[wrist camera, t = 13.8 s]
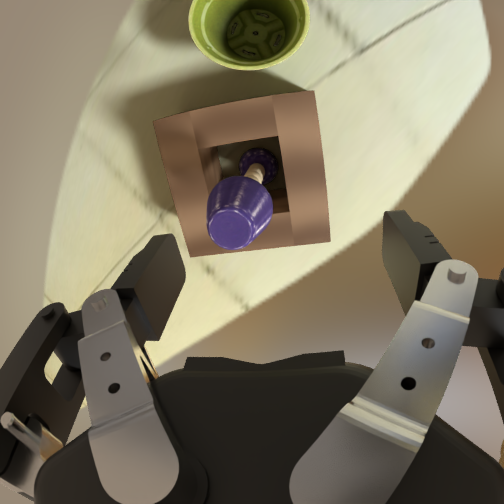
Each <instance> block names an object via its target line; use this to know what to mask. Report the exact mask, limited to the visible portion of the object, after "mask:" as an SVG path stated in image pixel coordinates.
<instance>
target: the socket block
mask: <svg viewBox="0 0 504 504" xmlns="http://www.w3.org/2000/svg"><path fill="white" fill-rule="evenodd" d="M153 124H154V128H155V132H156V136H157V140H158V144H159V148H160V152H161V156H162V160H163V164H164V168H165V171H166V175H167V179H168V183H169V186H170V190H171V193H172V197H173V201H174V204H175V208H176V211H177V215H178V218H179V221H180V225H181V228H182V232H183V235H184V238H185V242H186V245H187V248H188V251H189V255H190V257H197V256H206V255H215V254H224V253H233V252H242V251H251V250H260V249H269V248H279V247H288V246H297V245H306V244H315V243H324V242H331V239H330V225H329V212H328V200H327V189H326V179H325V169H324V160H323V151H322V143H321V135H320V128H319V120H318V113H317V107H316V100H315V94H314V91H300V92H291V93H283V94H276V95H269V96H262V97H256V98H250V99H244V100H238V101H233V102H228V103H223V104H218V105H213V106H209V107H204V108H200V109H195V110H191V111H187V112H183V113H179V114H175V115H172V116H168V117H165V118H162V119H158V120H155V121H153ZM273 136H278V137H279V143H280V149H281V155H282V162H283V168H284V175H285V181H286V188H284V189H276V190H269V191H268V193H269V194H270V196H271V199H272V203H273V213H272V218H271V220H270V223H269V224H268V226H267V227H266V229H265V230H264V231H263V232H262V233H261V234H260V235H259V236H258V237H257V238H256V239H254V240H253V241H252V242H251V243H250V244H249V245H247V246H246V247H244V248H241V249H238V250H227V249H224V248H222V247H220V246H218V245H217V244H215V243H214V242H213V241H212V239H211V238H210V236H209V234H208V231H207V226H206V213H207V201H208V197H209V195H210V193H211V191H212V189H213V188H214V187H215V186H216V185H217V184H218V183H219V182H221V181H222V180H224V178H223V174H222V169H221V165H220V160H219V155H218V151H217V146H218V145H224V144H229V143H235V142H241V141H247V140H253V139H260V138H266V137H273Z"/></svg>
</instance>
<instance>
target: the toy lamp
mask: <svg viewBox="0 0 504 504" xmlns="http://www.w3.org/2000/svg"><path fill="white" fill-rule="evenodd" d="M239 171H240V174H241V176H231V177H228V178H226V179H224V180H222V181H221V182H219V183H218V184H217V185H216V186H215V187H214V188H213V189H212V191H211V193H210V195H209V197H208V201H207V213H206V226H207V231H208V234H209V236H210V238H211V239H212V241H213V242H214V243H215V244H217V245H218V246H220V247H222V248H224V249H227V250H238V249H241V248H244V247H246V246H247V245H249V244H250V243H251V242H252V241H253V240H254V239H256V238H257V237H258V236H259V235H260V234H261V233H262V232H263V231H264V230H265V229H266V227H267V226H268V224H269V223H270V220H271V218H272V213H273V203H272V199H271V196H270V194H269V193H268V191H267V189H266V188H265V187H264V186H263V185H265V184H268V183H269V182H271V181H272V180H273V179H274V177H275V176H276V174H277V171H278V163H277V161H276V158H275V156H274V155H273V154H272V153H271V152H270V151H268V150H266V149H262V148H253V149H250V150H248V151H247V152H245V153H244V154H243V156H242V157H241V159H240V162H239Z"/></svg>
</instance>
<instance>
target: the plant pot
mask: <svg viewBox="0 0 504 504" xmlns="http://www.w3.org/2000/svg"><path fill="white" fill-rule="evenodd" d="M257 13H263V14H267V15H268V16H269V18H266V17H264V16H260V15H256V14H257ZM188 23H189V31H190V34H191V37H192V39H193V41H194V43H195V44H196V46H197V47H198V49H199V50H200V51H201V52H202V53H203V54H204V55H205V56H206V57H208V58H209V59H210V60H212V61H214V62H215V63H217V64H220V65H222V66H225V67H228V68H232V69H237V70H259V69H264V68H268V67H271V66H274V65H276V64H279V63H281V62H283V61H284V60H286V59H287V58H289V57H290V56H291V55H293V54H294V53H295V52H296V51H297V50H298V49H299V47H300V46H301V44H302V43H303V41H304V40H305V38H306V35H307V32H308V29H309V24H310V12H309V7H308V3H307V1H306V0H193V1H192V4H191V7H190V10H189V16H188ZM235 23H238V25H237V26H236V28H235V31H234V34H232V27H233V25H234V24H235ZM254 31H257V32H258V34H257V35H253V32H254ZM278 35H280V36H281V39H280V41H279V43H278V45H277V46H274V44H275V42H276V40H277V36H278ZM243 50H245V51H248V52H251V53H255V55H253V56H252V55H249V54H244V53H243V52H242V51H243Z"/></svg>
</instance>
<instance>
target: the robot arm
mask: <svg viewBox="0 0 504 504" xmlns="http://www.w3.org/2000/svg"><path fill="white" fill-rule="evenodd" d="M382 243H383V244H382V256H383V262H384V266H385V268H386V270H387V272H388V274H389V277H390V279H391V282H392V284H393V286H394V289H395V291H396V293H397V296H398V298H399V301H400V303H401V306H402V308H403V311H404V313H405V316H406V318H405V319H404V321H403V323H402V324H401V326H400V328H399V330H398V331H397V333H396V335H395V337H394V338H393V340H392V342H391V343H390V346H389V347H388V348H387V350H386V352H385V353H384V355H383V356H382V358H381V360H380V361H379V363H378V364H377V366H376V368H375V369H372V368H370V367H366V366H364V365H360V364H355V363H349V362H345V357H344V351H332V352H321V353H309V354H302V355H298V356H294V357H290V358H287V359H283V360H279V361H275V362H271V363H266V364H255V363H249V362H244V361H239V360H234V359H229V358H224V357H187V359H186V363H185V366H184V368H183V369H178V370H175V371H172V372H169V373H167V374H164V375H162V376H160V377H159V375H158V373H157V371H156V369H155V367H154V365H153V362H152V360H151V358H150V356H149V353H148V351H147V349H146V347H145V346H144V344H145V342H146V341H159V340H160V337H161V335H162V333H163V330H164V328H165V326H166V323H167V321H168V319H169V317H170V314H171V312H172V310H173V307H174V305H175V303H176V301H177V298H178V296H179V294H180V292H181V289H182V287H183V285H184V283H185V278H186V272H185V267H184V264H183V261H182V258H181V255H180V251H179V248H178V245H177V242H176V239H175V237H174V235H173V234H163V235H156V236H153V237H152V238H151V239H150V241H149V242H148V243H147V245H146V246H145V248H144V249H143V250H141V251H140V252H139V253H137V254H136V255H135V256H134V257H133V258H132V260H131V261H130V262H129V264H128V265H127V266H126V268H125V269H124V272H122V273H121V275H120V276H119V277H118V279H117V280H116V282H115V283H114V284H113V286H112V287H111V289H104V290H100V291H98V292H96V293H94V294H92V295H91V296H90V297H88V298H87V299H86V300H85V302H84V303H83V305H82V309H81V310H79V311H75V312H71V313H68V311H67V310H66V308H65V306H64V305H63V304H62V303H60V302H57V303H52V304H50V305H48V306H46V307H45V308H43V309H42V310H41V311H40V312H39V313H38V314H37V315H36V317H35V318H34V320H33V321H32V322H31V324H30V325H29V327H28V328H27V329H26V331H25V333H24V334H23V336H22V337H21V338H20V340H19V341H18V343H17V344H16V346H15V347H14V349H13V350H12V352H11V353H10V355H9V357H8V358H7V360H6V361H5V363H4V364H3V366H2V368H1V369H0V483H1V484H3V485H4V486H6V487H7V488H9V489H11V490H12V491H14V492H17V493H19V494H21V495H23V496H25V497H26V498H28V499H30V500H32V501H34V503H35V504H504V439H503V442H502V445H501V451H500V454H501V457H500V459H499V463H498V462H497V461H496V460H495V459H494V458H493V457H491V456H489V455H488V454H487V453H486V452H484V451H483V450H482V449H481V448H479V447H478V446H476V445H475V444H474V443H473V442H471V441H470V440H468V439H467V438H466V437H465V436H463V435H462V434H460V433H459V432H458V431H457V430H455V429H454V428H453V427H451V426H450V425H448V424H447V423H446V422H445V421H443V420H442V419H441V418H440V417H438V416H437V415H436V411H437V409H438V407H439V405H440V403H441V400H442V398H443V396H444V393H445V390H446V388H447V386H448V383H449V380H450V378H451V376H452V373H453V370H454V367H455V364H456V362H457V359H458V356H459V353H460V350H461V347H462V346H472V347H477V348H478V350H479V353H480V355H481V358H482V360H483V363H484V366H485V368H486V371H487V374H488V376H489V379H490V382H491V385H492V388H493V391H494V394H495V397H496V400H497V403H498V406H499V410H500V413H501V416H502V420H503V424H504V268H503V269H502V271H501V273H500V277H499V280H492V279H482V278H478V274H477V272H476V270H475V269H474V268H473V267H472V266H470V265H469V264H467V263H465V262H462V261H459V260H453V259H452V258H451V257H450V255H449V254H448V253H447V252H446V250H445V249H444V247H443V246H442V245H441V243H439V241H438V239H437V238H436V237H434V234H433V233H432V232H431V231H430V229H429V228H427V227H426V226H424V225H423V224H421V223H419V222H413V221H412V219H411V218H410V217H409V215H408V214H407V213H406V211H405V210H397V211H385V212H384V216H383V242H382ZM53 351H54V353H55V354H56V355H57V357H58V358H59V359H60V361H61V362H62V363H63V364H62V366H61V368H60V369H59V371H58V373H57V375H56V377H55V379H54V381H53V383H52V385H51V384H50V383H49V381H48V380H47V379H46V377H45V374H44V367H45V365H46V363H47V361H48V359H49V357H50V356H51V354H52V352H53ZM85 395H86V400H87V405H88V409H89V414H90V419H91V424H92V426H91V427H90V428H89V429H87V430H86V431H85V432H83V433H82V434H81V435H79V436H78V437H76V438H75V439H74V440H72V441H71V442H70V443H68V444H67V445H66V442H67V439H68V437H69V434H70V432H71V429H72V427H73V424H74V422H75V419H76V417H77V414H78V412H79V409H80V407H81V405H82V402H83V400H84V397H85Z"/></svg>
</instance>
